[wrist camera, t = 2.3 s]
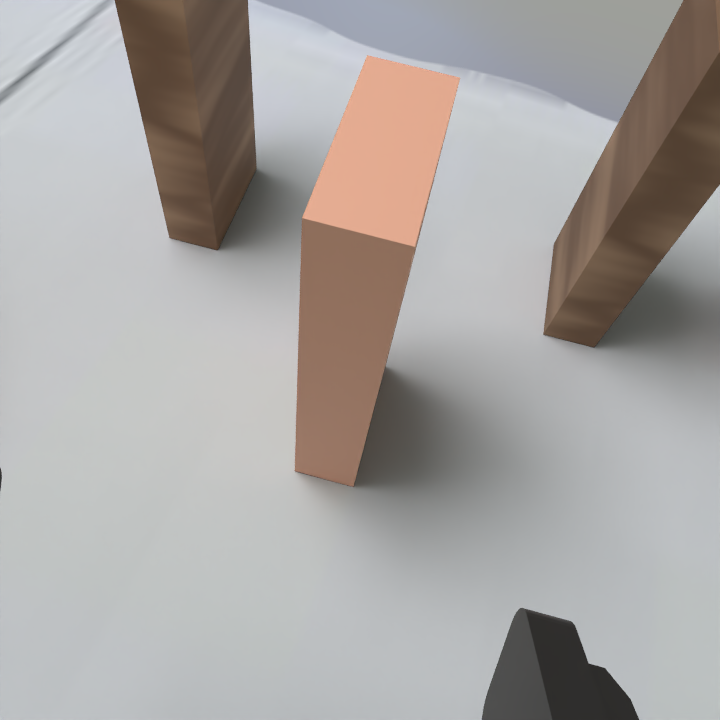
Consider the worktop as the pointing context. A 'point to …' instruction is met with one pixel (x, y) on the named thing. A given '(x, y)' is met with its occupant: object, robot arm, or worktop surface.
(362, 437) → the terracotta tile
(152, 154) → the wood grain beam
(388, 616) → the worktop surface
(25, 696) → the worktop surface
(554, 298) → the middle walnut tile
